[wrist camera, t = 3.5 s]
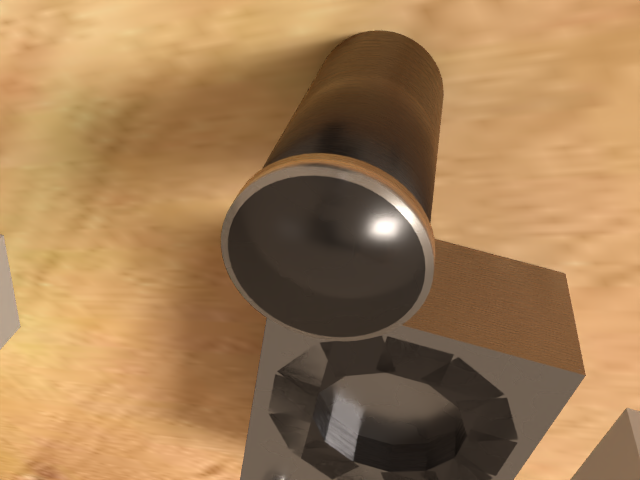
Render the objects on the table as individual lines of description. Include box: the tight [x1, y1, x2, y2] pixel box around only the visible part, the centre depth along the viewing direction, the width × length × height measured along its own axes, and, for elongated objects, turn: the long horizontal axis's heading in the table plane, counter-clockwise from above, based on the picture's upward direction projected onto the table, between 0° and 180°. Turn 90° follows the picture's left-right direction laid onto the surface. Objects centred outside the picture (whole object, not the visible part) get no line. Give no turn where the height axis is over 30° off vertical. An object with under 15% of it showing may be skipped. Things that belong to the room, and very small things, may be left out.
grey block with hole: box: [240, 239, 586, 480], centre depth 29 cm, size 12×16×7 cm
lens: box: [221, 31, 444, 341], centre depth 19 cm, size 5×5×11 cm
